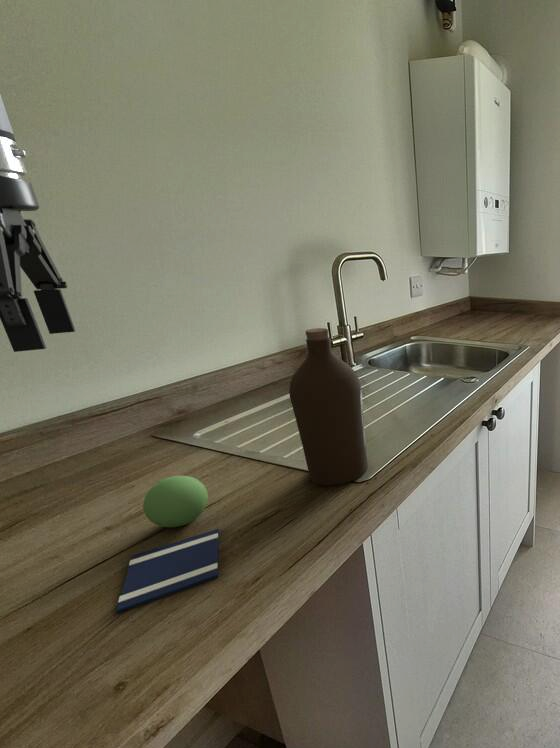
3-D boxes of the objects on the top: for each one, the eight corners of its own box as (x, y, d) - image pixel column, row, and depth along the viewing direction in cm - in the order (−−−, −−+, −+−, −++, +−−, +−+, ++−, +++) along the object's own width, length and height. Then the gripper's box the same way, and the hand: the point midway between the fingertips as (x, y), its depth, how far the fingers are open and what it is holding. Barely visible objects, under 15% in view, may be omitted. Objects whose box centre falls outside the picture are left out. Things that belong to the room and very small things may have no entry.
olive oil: (321, 496, 64) (292, 340, 56) (296, 472, 71) (267, 330, 63) (382, 470, 71) (365, 329, 63) (354, 450, 78) (335, 321, 70)
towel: (133, 557, 52) (132, 554, 52) (218, 531, 56) (217, 528, 56) (117, 613, 44) (115, 610, 44) (218, 577, 49) (217, 573, 48)
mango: (147, 492, 59) (136, 474, 54) (207, 480, 63) (202, 463, 58) (150, 540, 57) (139, 526, 51) (212, 524, 61) (207, 510, 56)
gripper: (-16, 162, 44) (57, 354, 51) (58, 188, 63) (103, 324, 70) (-132, 155, 40) (-36, 364, 47) (-15, 185, 59) (41, 329, 66)
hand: (48, 340), depth 58 cm, fingers open, 13 cm apart
